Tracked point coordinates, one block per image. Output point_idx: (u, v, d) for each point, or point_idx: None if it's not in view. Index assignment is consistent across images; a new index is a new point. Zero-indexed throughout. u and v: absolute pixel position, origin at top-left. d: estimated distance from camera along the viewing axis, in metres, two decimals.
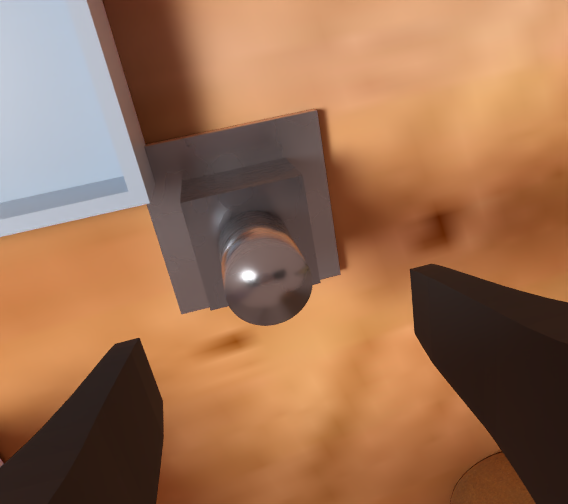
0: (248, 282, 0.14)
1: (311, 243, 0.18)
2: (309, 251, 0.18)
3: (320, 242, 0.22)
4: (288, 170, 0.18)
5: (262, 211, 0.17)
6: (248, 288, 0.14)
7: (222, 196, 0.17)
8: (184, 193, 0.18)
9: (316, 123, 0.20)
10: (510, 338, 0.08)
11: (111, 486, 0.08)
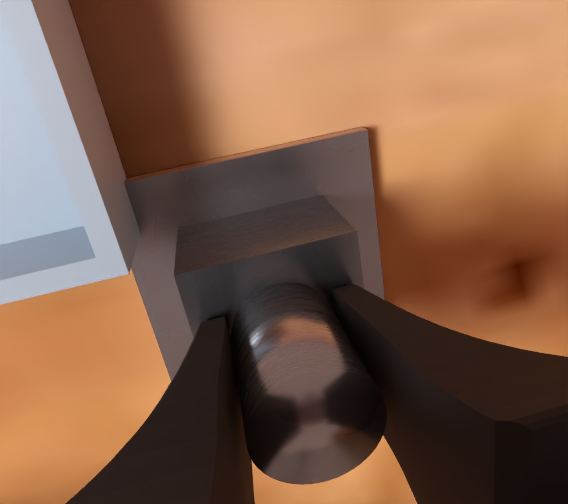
0: (284, 425, 0.09)
1: None
2: None
3: None
4: (332, 219, 0.12)
5: (296, 283, 0.12)
6: (284, 434, 0.09)
7: (237, 264, 0.11)
8: (180, 254, 0.12)
9: (365, 147, 0.14)
10: (399, 369, 0.08)
11: (234, 452, 0.08)
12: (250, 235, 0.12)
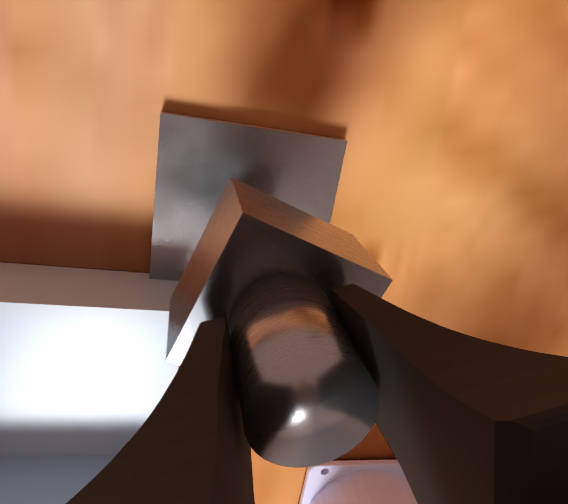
0: (284, 433, 0.09)
1: (336, 258, 0.12)
2: (343, 267, 0.12)
3: (301, 151, 0.20)
4: (232, 209, 0.12)
5: (248, 286, 0.12)
6: (292, 437, 0.09)
7: (193, 316, 0.12)
8: (169, 332, 0.13)
9: (174, 117, 0.19)
10: (399, 369, 0.08)
11: (233, 451, 0.08)
12: (196, 274, 0.13)
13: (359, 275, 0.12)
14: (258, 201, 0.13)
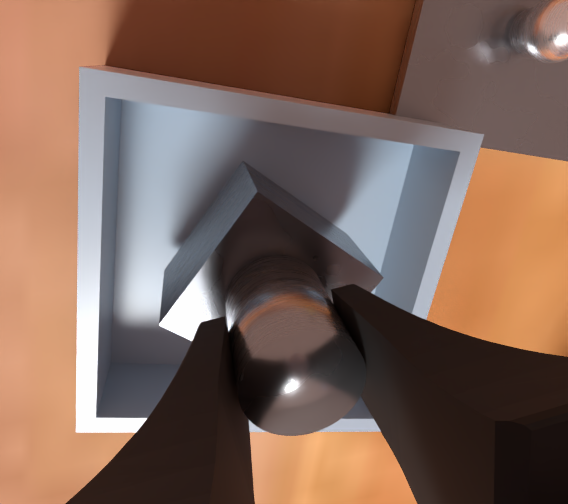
0: (274, 399, 0.10)
1: (335, 249, 0.13)
2: (341, 258, 0.13)
3: None
4: (245, 188, 0.13)
5: (249, 263, 0.12)
6: (280, 404, 0.10)
7: (193, 285, 0.12)
8: (163, 299, 0.14)
9: None
10: (399, 369, 0.08)
11: (233, 452, 0.08)
12: (199, 247, 0.13)
13: (354, 268, 0.13)
14: (268, 186, 0.14)
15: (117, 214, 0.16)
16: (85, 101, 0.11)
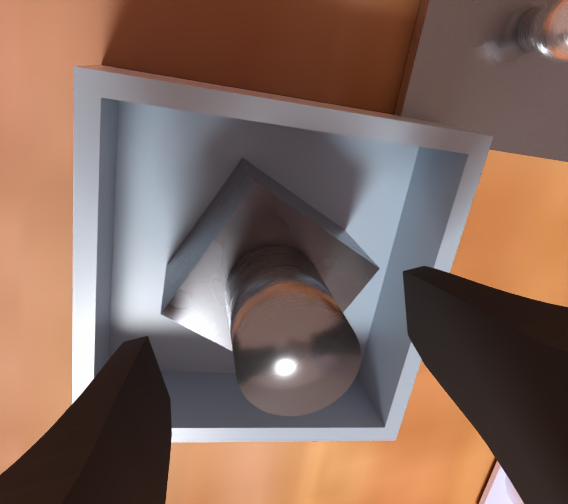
0: (271, 379, 0.10)
1: (332, 239, 0.13)
2: (337, 249, 0.13)
3: None
4: (244, 181, 0.13)
5: (249, 253, 0.13)
6: (277, 384, 0.10)
7: (194, 274, 0.13)
8: (165, 290, 0.14)
9: None
10: (499, 341, 0.08)
11: (123, 483, 0.08)
12: (200, 239, 0.14)
13: (350, 259, 0.13)
14: (266, 180, 0.14)
15: (114, 218, 0.15)
16: (80, 102, 0.11)
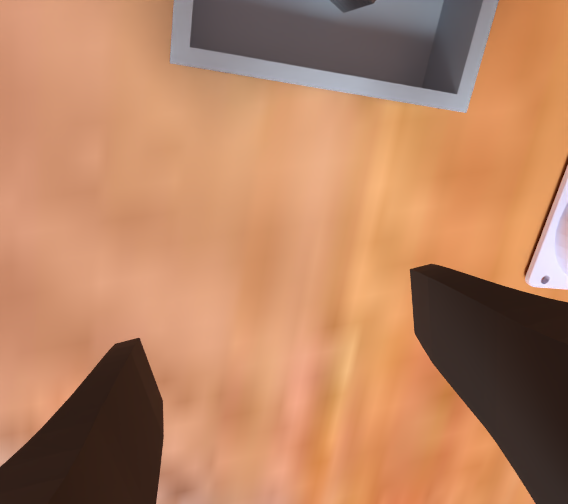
0: None
1: None
2: None
3: None
4: None
5: None
6: None
7: None
8: None
9: None
10: (510, 338, 0.08)
11: (111, 486, 0.08)
12: None
13: None
14: None
15: None
16: None
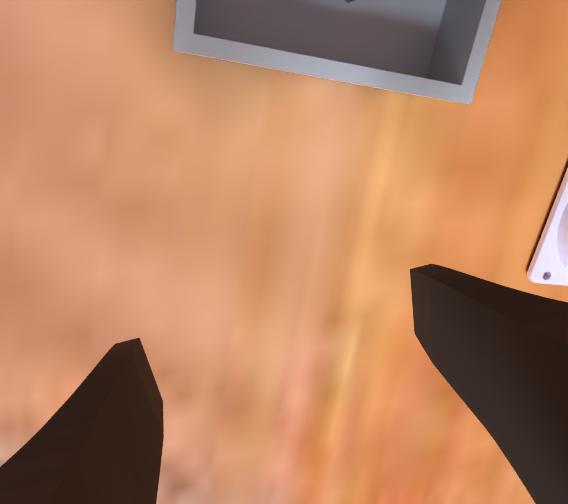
0: None
1: None
2: None
3: None
4: None
5: None
6: None
7: None
8: None
9: None
10: (510, 338, 0.08)
11: (111, 486, 0.08)
12: None
13: None
14: None
15: None
16: None
